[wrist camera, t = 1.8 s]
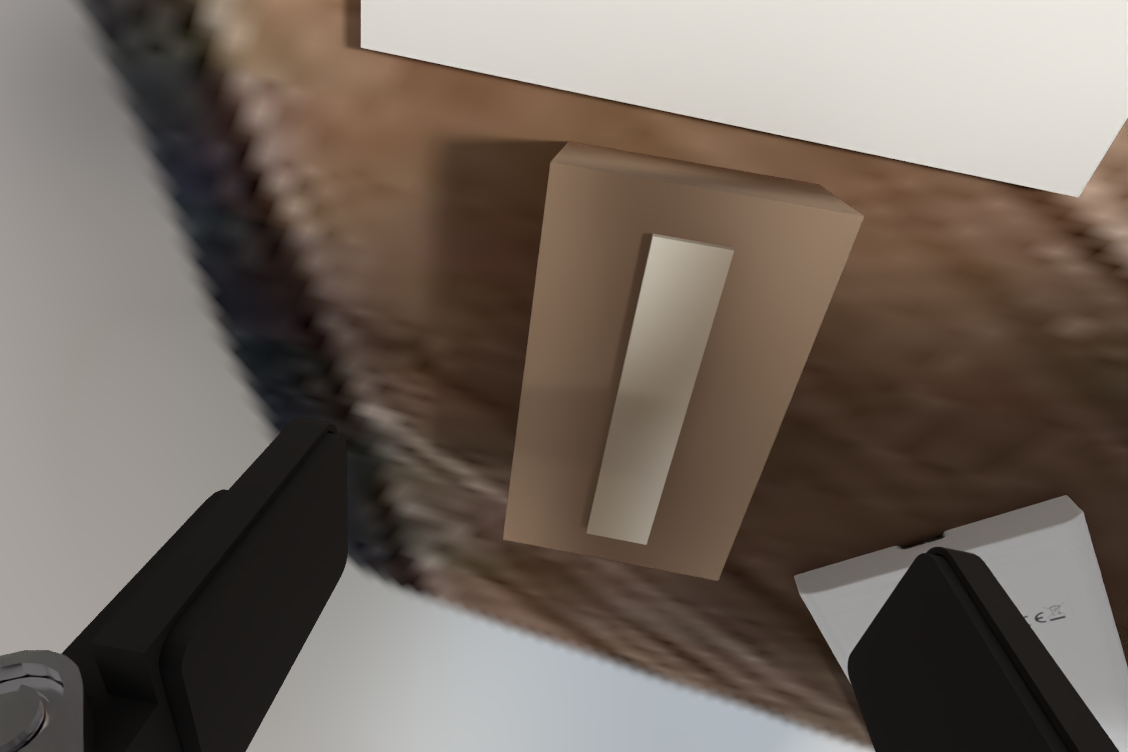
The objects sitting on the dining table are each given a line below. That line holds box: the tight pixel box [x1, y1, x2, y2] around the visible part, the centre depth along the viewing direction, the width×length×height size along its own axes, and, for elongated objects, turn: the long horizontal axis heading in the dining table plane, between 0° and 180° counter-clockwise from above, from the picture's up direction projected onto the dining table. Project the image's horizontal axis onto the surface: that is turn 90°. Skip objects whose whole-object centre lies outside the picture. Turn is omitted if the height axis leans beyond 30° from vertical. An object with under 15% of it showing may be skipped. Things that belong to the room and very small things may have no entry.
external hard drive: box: [794, 495, 1128, 752], centre depth 20 cm, size 2×8×12 cm
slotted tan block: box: [503, 141, 864, 581], centre depth 15 cm, size 6×10×4 cm, turn 172°
